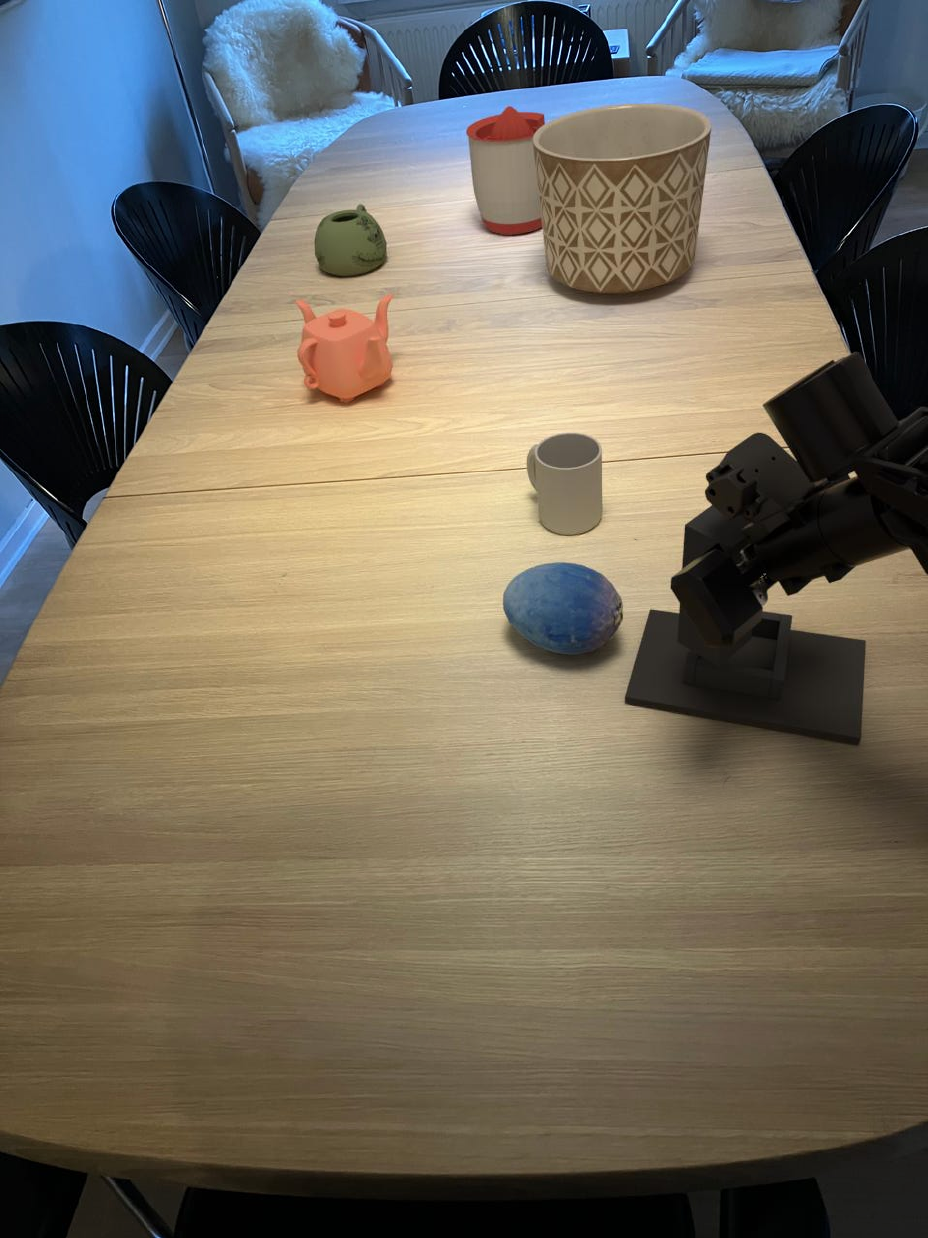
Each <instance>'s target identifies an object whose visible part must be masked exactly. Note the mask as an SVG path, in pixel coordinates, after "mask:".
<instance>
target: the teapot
mask: <svg viewBox="0 0 928 1238" xmlns="http://www.w3.org/2000/svg"><path fill="white" fill-rule="evenodd" d="M393 297H394V293H389V294H387V295H385V296H383V297H382V298H381V299H380V300H379V302H378V304H377V307H376V310H375V311H376V312H375V318H374V321H373V320H372V319H371V318H370V317H368V316H367V315H365V314H363V313H360V312H358V311H355V310H351V309H348V308H338V309H335V310H332V311H330V312H327V313H325V314H323V315H320V316H317V317H316V313H314V311H313V309H312V308H311V307H310V305H309V304H308V303H307V302H306V301H304V300H302V299H296V301H295V304H296V306H298V309H299V310H300V311H301V314H302V316H303V319H304V324H303V326H302V330H301V331H302V332H301V339H300V340H301V342H300V345H299V346H298V348H297V351H296V355H297V359H298V362H299V364H300V365H301V366H302V370H303V372H304V375H305V376H304V378H303V384H304V386H305V387H306V389H310V390H315V389H316V388H317V389H318V390H319V391H321V392H323V393H325V394H328V395H329V396H330V395H331V396H333V397H336V398H339V402H341V403H349V402H352V401H354V400H355V398H356V397H357V396H359V395H362V394H364V393H366V392H368V391H370V390H372V389H374V388H379V387H382V386H383V385H384V384H385V382H386V381H388V380H389V379H390V377H391V375H392V370H393V362H392V357H391V353H390V351H389V348H388V345H387V342H388V340H389V322H388V308H389V305H390V302H391V300H392V299H393Z"/></svg>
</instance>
